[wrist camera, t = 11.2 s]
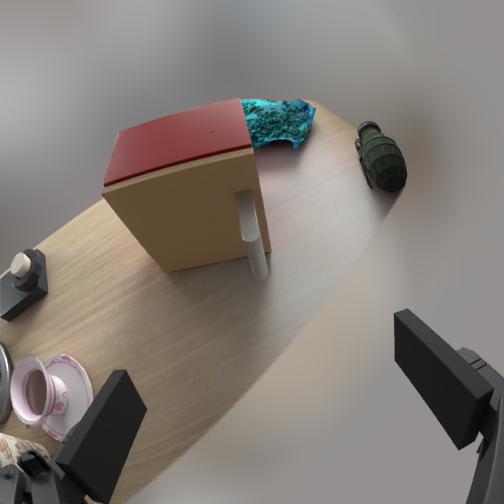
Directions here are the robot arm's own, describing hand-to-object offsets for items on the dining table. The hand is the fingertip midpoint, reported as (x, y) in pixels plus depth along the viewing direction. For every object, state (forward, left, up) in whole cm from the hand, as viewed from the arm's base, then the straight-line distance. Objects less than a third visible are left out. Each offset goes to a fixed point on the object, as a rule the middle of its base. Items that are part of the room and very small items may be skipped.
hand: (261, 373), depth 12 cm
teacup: (-22, -15, -16) cm, 32 cm away
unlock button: (-40, -4, -12) cm, 42 cm away
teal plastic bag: (-16, +41, -19) cm, 48 cm away
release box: (-41, -7, -16) cm, 45 cm away
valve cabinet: (-15, +14, -16) cm, 26 cm away
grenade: (+4, +27, -13) cm, 30 cm away
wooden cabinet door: (-11, +8, -16) cm, 21 cm away
